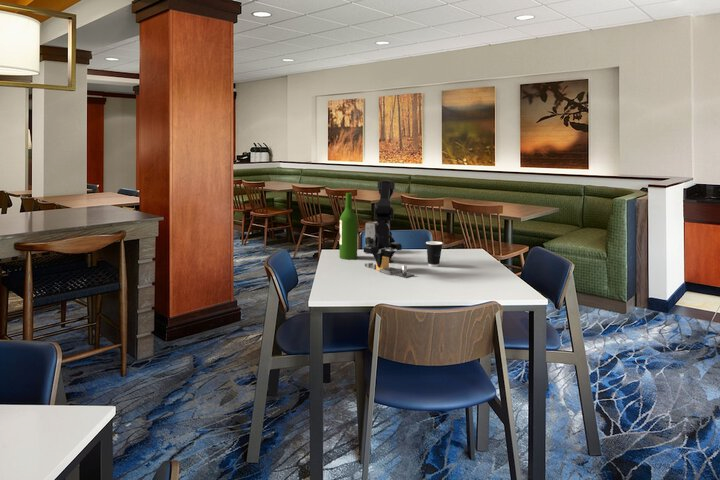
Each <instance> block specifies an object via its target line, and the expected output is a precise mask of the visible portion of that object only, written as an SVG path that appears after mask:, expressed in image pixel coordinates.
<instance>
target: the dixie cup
mask: <svg viewBox="0 0 720 480" xmlns="http://www.w3.org/2000/svg"><path fill="white" fill-rule="evenodd" d="M425 244H426V254H427V255H426V256H427V264H428V266H429V267H432V266H433V267H436V266H437V267H439V265H440V262H441V255H442V247H443V244H444V243H443V242H442V241H433V240H431V241H426V242H425ZM437 267H436V268H437Z"/></svg>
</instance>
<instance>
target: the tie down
mask: <svg viewBox="0 0 720 480" xmlns="http://www.w3.org/2000/svg"><path fill="white" fill-rule="evenodd" d="M364 267H366V268H371V269H373V270H376V271H379V273H384V274H387V275H395V274H397V273H402V268H400V269H399V268H396V267H392V266H391V267H390V262H389V257H386V256H382V262H381V266H380V268H379V267H378V266H377V263H375V264H374V263H373V262H366V263H364Z"/></svg>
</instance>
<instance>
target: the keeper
mask: <svg viewBox="0 0 720 480" xmlns="http://www.w3.org/2000/svg"><path fill="white" fill-rule="evenodd" d="M401 270H402V273H397V274H394V276H396V277H399V278H403V279H405V278H411V277H414V276H415V274H413V273H409V272H408V268H407V265H406V264H404V265H402V267H401Z"/></svg>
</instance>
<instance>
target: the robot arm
mask: <svg viewBox="0 0 720 480" xmlns="http://www.w3.org/2000/svg"><path fill="white" fill-rule="evenodd" d="M376 186H377V187H376V189H377V191H378V194H379V198H380V199H379V200H378V201H376V206H375V207H374V221H375V222H377V226H376V232H377V234H375V237H374V238H371V237H367V238H365V237H364V238H365V240H364V244H365V243H366V245H369V246H365V245H364V247H363V253H365V254H370V255H372V256H373V257H374V259H375V262H376V263H377V266H378V267H379V268H380V266H381V262H382V256H386V257H389V263H393V262H394V259H393V260H392V258H393V256H394V254H395V253H396V252H397V251H402V248H403V247H402V244H401V243H400V242H396V240H395V238H394V237H393V233H392V231H391V230H390V229H391V222H392V221H393V220H394V213H395V212H394V208H393V207H392V202H391V198H392V197H393V195H394V191H396V182H395V181H393V180H389V179H388V180H385V179H382V180H379V181H377V185H376ZM395 250H396V251H395ZM376 263H375V264H376Z"/></svg>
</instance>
